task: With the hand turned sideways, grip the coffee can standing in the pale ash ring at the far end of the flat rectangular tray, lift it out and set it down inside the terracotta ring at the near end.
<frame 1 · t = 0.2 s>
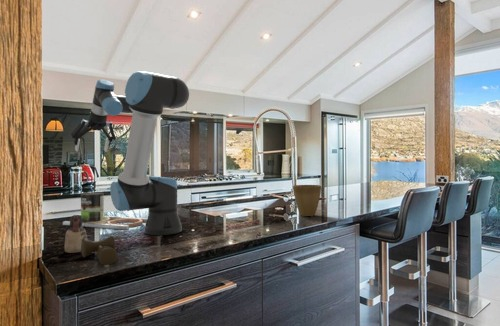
hand: (91, 150, 171), 35 cm above the worktop, tool tilted 35°, fingers open, 13 cm apart
plant pot: (307, 216, 182), on the worktop
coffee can: (92, 222, 167), resting in flat rectangular tray
marked ring: (125, 224, 161), on the worktop
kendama: (101, 258, 108), on the worktop
figurine: (76, 250, 117), on the worktop
flat rectangular tray: (108, 223, 164), on the worktop
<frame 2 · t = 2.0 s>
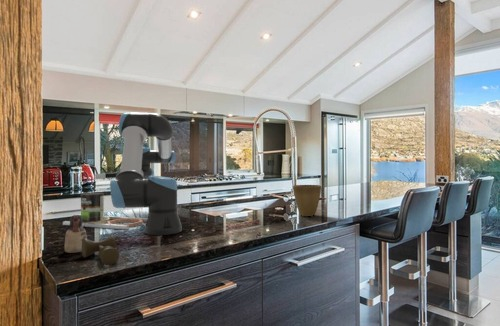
hand: (106, 176, 176), 22 cm above the worktop, tool horizontal, fingers open, 13 cm apart
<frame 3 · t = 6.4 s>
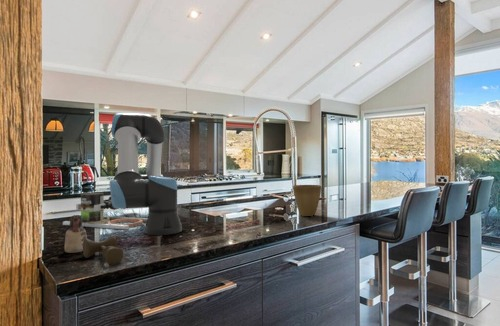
hand: (85, 207, 163), 8 cm above the worktop, tool horizontal, fingers closed on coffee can, 10 cm apart
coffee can: (92, 222, 167), resting in flat rectangular tray, touching gripper
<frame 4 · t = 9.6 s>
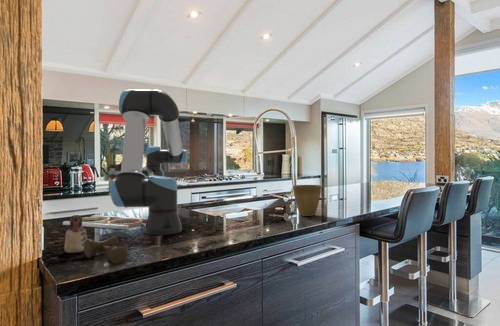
hand: (113, 178, 158), 22 cm above the worktop, tool horizontal, fingers closed on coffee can, 10 cm apart
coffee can: (120, 194, 162), point 14 cm above the worktop, touching gripper
when the fingers open (9 cm above the worktop, at t = 13.0 s): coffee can drops 1 cm, resting in marked ring.
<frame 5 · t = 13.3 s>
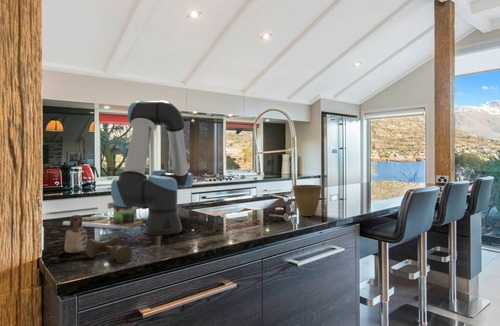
hand: (120, 206, 158), 9 cm above the worktop, tool horizontal, fingers open, 13 cm apart
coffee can: (125, 224, 161), resting in marked ring
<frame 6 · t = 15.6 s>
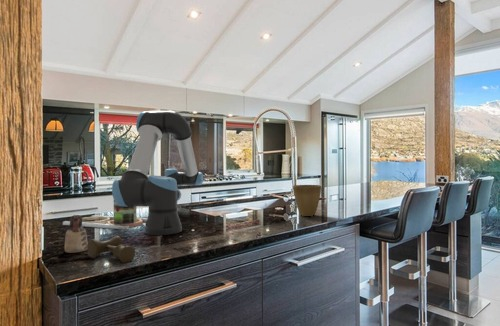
hand: (137, 202, 170), 9 cm above the worktop, tool horizontal, fingers open, 13 cm apart
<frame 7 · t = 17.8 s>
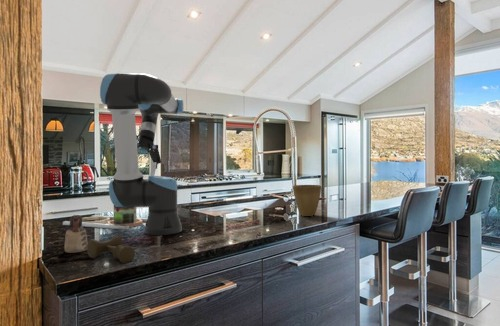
hand: (141, 170, 169), 25 cm above the worktop, tool tilted 25°, fingers open, 13 cm apart
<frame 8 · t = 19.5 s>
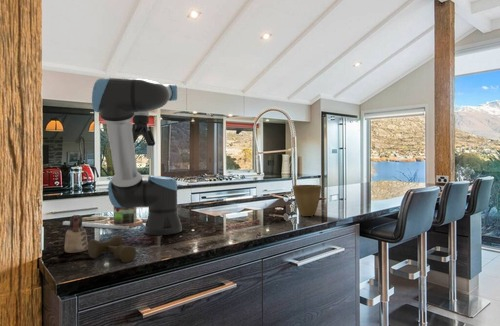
hand: (141, 158, 169), 31 cm above the worktop, tool pointing down, fingers open, 13 cm apart
at the end: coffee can 0.2 cm off-centre on the marked ring, point 0.0 cm above the marked ring's base; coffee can tilted 0°; the gripper is holding nothing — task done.
